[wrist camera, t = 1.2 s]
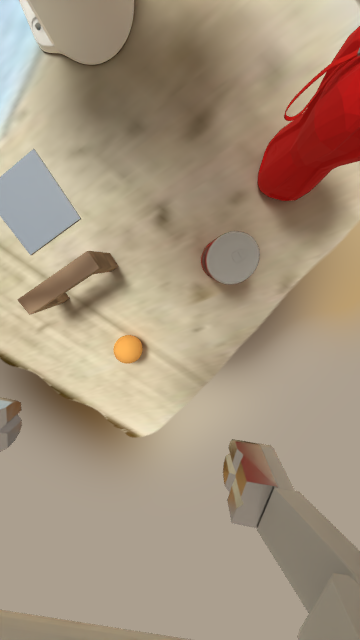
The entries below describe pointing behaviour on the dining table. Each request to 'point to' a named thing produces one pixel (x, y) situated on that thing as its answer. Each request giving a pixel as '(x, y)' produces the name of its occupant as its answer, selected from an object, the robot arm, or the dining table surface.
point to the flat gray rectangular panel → (34, 203)
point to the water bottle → (317, 130)
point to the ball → (128, 349)
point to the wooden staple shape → (66, 281)
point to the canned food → (231, 257)
